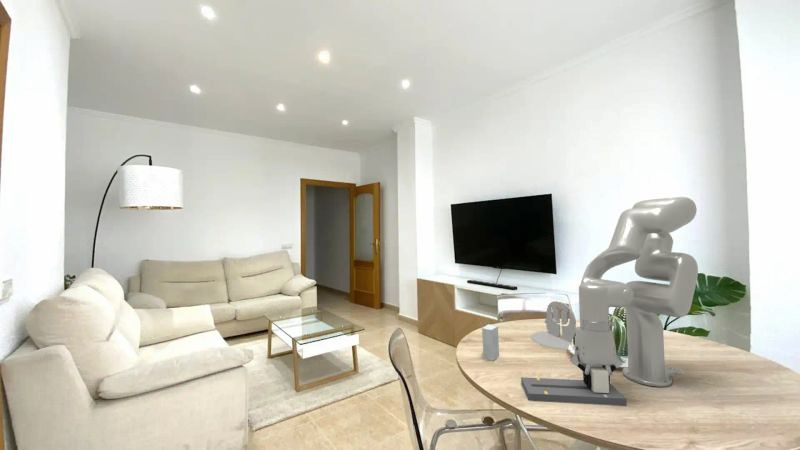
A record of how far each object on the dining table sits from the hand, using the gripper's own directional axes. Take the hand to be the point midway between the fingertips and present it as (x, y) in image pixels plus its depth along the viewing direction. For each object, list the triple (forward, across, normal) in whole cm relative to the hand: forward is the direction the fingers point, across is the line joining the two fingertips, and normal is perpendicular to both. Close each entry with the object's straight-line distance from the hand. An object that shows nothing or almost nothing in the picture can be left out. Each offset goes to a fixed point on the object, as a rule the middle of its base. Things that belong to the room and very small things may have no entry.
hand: (596, 385), depth 93 cm
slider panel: (+3, +8, 0) cm, 8 cm away
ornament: (+3, 0, -45) cm, 45 cm away
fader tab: (0, 0, 0) cm, 0 cm away
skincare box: (+3, +27, -25) cm, 37 cm away
